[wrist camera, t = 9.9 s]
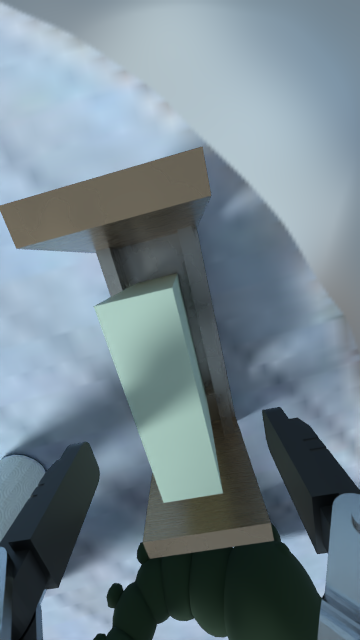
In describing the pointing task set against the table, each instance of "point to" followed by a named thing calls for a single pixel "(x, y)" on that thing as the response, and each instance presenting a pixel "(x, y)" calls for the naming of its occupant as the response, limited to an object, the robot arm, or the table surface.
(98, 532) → the table surface
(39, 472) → the paper towel roll
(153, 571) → the toy figurine
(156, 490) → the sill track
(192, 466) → the pale green rectangular block
